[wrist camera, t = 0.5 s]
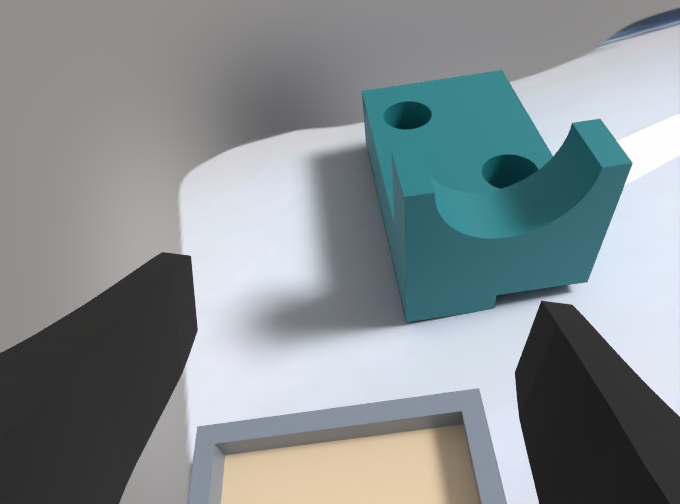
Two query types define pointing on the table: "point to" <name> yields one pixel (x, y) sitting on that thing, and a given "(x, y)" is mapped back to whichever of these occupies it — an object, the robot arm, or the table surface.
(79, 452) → the robot arm
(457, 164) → the teal l-shaped bracket
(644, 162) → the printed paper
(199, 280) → the table surface
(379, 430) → the box
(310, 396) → the table surface
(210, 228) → the table surface
